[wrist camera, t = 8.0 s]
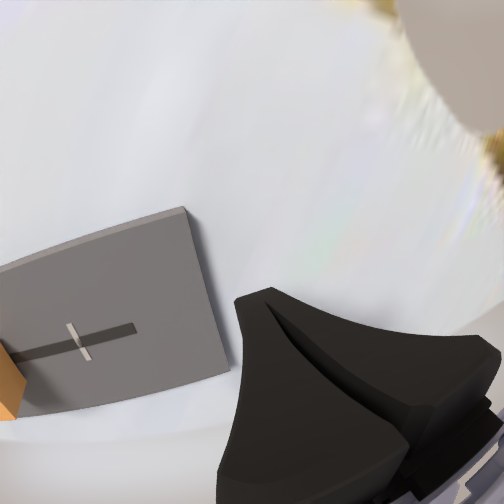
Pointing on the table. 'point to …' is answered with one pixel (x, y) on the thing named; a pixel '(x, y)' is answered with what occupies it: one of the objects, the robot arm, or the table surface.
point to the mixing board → (109, 316)
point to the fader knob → (10, 387)
